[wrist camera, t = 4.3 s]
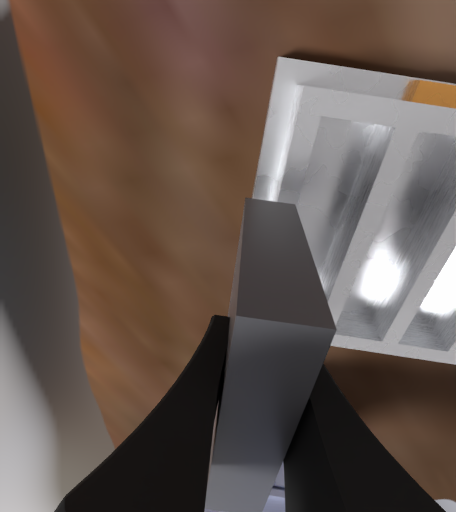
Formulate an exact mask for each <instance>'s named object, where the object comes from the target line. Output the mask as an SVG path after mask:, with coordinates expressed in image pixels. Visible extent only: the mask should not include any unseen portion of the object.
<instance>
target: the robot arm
mask: <svg viewBox="0 0 456 512" xmlns="http://www.w3.org/2000/svg"><path fill="white" fill-rule="evenodd" d="M229 323H230V317H226V316H219V315H214V316H212V318H211V321H210V324H209V327H208V329H207V331H206V333H205V335H204V337H203V339H202V341H201V343H200V345H199V346H198V348H197V350H196V351H195V353H194V355H193V356H192V358H191V360H190V361H189V363H188V364H187V366H186V367H185V369H184V370H183V372H182V373H181V374H180V376H179V377H178V379H177V380H176V382H175V383H174V384H173V386H172V387H171V388H170V390H169V391H168V392H167V393H166V395H165V396H164V397H163V398H162V400H161V401H160V402H159V403H158V404H157V406H156V407H155V408H154V409H153V410H152V411H151V413H150V414H149V415H148V416H147V417H146V418H145V419H144V421H143V422H142V423H141V424H140V425H139V426H138V427H137V428H136V429H135V430H134V431H133V432H132V433H131V434H130V435H129V436H128V437H127V438H126V439H125V440H124V441H123V442H122V443H121V444H120V445H119V446H118V447H117V448H116V450H115V451H114V452H113V453H112V454H111V455H110V456H109V457H108V458H106V459H105V460H104V461H103V462H102V463H101V464H100V465H99V466H98V467H97V468H96V469H94V470H93V471H92V472H91V473H90V474H89V475H88V476H87V477H86V478H84V479H83V480H82V481H81V482H80V483H79V484H78V485H77V486H76V487H74V488H73V489H72V490H71V491H70V492H69V493H68V494H67V495H66V496H65V497H64V498H63V500H62V501H61V503H60V504H59V506H58V507H57V509H56V510H55V511H54V512H223V511H216V510H210V509H205V502H206V492H207V483H208V473H209V464H210V455H211V445H212V436H213V427H214V420H215V416H216V411H217V406H218V401H219V395H220V389H221V382H222V376H223V370H224V364H225V357H226V351H227V344H228V334H229ZM263 512H446V511H445V510H444V509H443V508H441V506H439V504H437V503H436V502H435V501H434V500H433V499H432V498H431V497H430V496H429V495H428V494H427V493H426V492H425V491H424V490H423V489H422V488H421V487H420V486H419V484H418V483H417V482H416V481H415V480H414V479H413V478H412V477H411V476H410V475H409V474H408V473H407V472H406V471H405V469H404V468H403V467H402V466H401V465H400V464H399V463H398V462H397V461H396V460H395V459H394V457H393V456H392V455H391V454H390V453H389V452H388V451H387V450H386V449H385V447H384V446H383V445H382V444H381V443H380V442H379V440H378V439H377V438H376V437H375V436H374V434H373V433H372V432H371V431H370V429H369V428H368V427H367V426H366V424H365V423H364V422H363V421H362V419H361V418H360V417H359V415H358V414H357V413H356V411H355V410H354V409H353V407H352V406H351V405H350V403H349V402H348V400H347V399H346V397H345V396H344V395H343V393H342V392H341V390H340V389H339V387H338V386H337V384H336V383H335V381H334V380H333V378H332V377H331V375H330V373H329V372H328V370H327V369H326V367H325V365H324V364H323V365H322V367H321V370H320V372H319V374H318V377H317V379H316V382H315V384H314V387H313V389H312V392H311V394H310V397H309V399H308V401H307V404H306V406H305V409H304V411H303V414H302V416H301V419H300V421H299V423H298V426H297V428H296V431H295V433H294V436H293V438H292V441H291V443H290V445H289V448H288V450H287V453H286V455H285V458H284V460H283V463H282V465H281V467H280V470H279V472H278V475H277V477H276V480H275V482H274V485H273V487H272V490H271V492H270V494H269V497H268V499H267V502H266V504H265V507H264V509H263Z"/></svg>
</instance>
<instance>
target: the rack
mask: <svg viewBox="0 0 456 512" xmlns="http://www.w3.org/2000/svg"><path fill="white" fill-rule="evenodd" d="M252 199H260V200H267V201H274V202H282V203H289V204H295V205H296V208H297V211H298V214H299V217H300V220H301V223H302V226H303V229H304V232H305V235H306V238H307V241H308V244H309V247H310V250H311V253H312V257H313V260H314V263H315V266H316V269H317V272H318V275H319V278H320V281H321V284H322V287H323V290H324V293H325V296H326V299H327V302H328V305H329V308H330V311H331V314H332V317H333V320H334V323H335V326H336V329H337V330H336V333H335V335H334V338H333V340H332V343H331V345H330V346H337V347H343V348H350V349H356V350H363V351H369V352H376V353H383V354H389V355H396V356H402V357H409V358H415V359H422V360H429V361H435V362H442V363H448V364H455V365H456V84H453V83H447V82H440V81H434V80H427V79H421V78H414V77H408V76H401V75H395V74H388V73H382V72H375V71H369V70H362V69H356V68H349V67H343V66H336V65H330V64H323V63H317V62H310V61H304V60H297V59H291V58H284V57H278V58H277V61H276V66H275V72H274V77H273V83H272V88H271V94H270V99H269V105H268V111H267V116H266V122H265V127H264V133H263V138H262V144H261V149H260V155H259V161H258V166H257V172H256V177H255V183H254V188H253V194H252Z"/></svg>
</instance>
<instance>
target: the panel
mask: <svg viewBox="0 0 456 512" xmlns="http://www.w3.org/2000/svg"><path fill="white" fill-rule="evenodd" d="M228 317H230V323H229V334H228V344H227V351H226V357H225V364H224V370H223V376H222V382H221V389H220V395H219V401H218V406H217V411H216V416H215V420H214V428H213V436H212V445H211V455H210V464H209V473H208V483H207V492H206V502H205V509H210V510H216V511H223V512H263V509H264V507H265V504H266V502H267V499H268V497H269V494H270V492H271V490H272V487H273V485H274V482H275V480H276V477H277V475H278V472H279V470H280V467H281V465H282V463H283V460H284V458H285V455H286V453H287V450H288V448H289V445H290V443H291V441H292V438H293V436H294V433H295V431H296V428H297V426H298V423H299V421H300V419H301V416H302V414H303V411H304V409H305V406H306V404H307V401H308V399H309V397H310V394H311V392H312V389H313V387H314V384H315V382H316V379H317V377H318V374H319V372H320V370H321V367H322V365H323V362H324V360H325V357H326V355H327V352H328V350H329V348H330V345H331V343H332V340H333V338H334V335H335V333H336V330H337V329H336V326H335V323H334V320H333V317H332V314H331V311H330V308H329V305H328V302H327V299H326V296H325V293H324V290H323V287H322V284H321V281H320V278H319V275H318V272H317V269H316V266H315V263H314V260H313V257H312V253H311V250H310V247H309V244H308V241H307V238H306V235H305V232H304V229H303V226H302V223H301V220H300V217H299V214H298V211H297V208H296V205H295V204H289V203H282V202H274V201H267V200H260V199H252V198H245V205H244V212H243V218H242V225H241V232H240V238H239V245H238V252H237V259H236V265H235V272H234V279H233V285H232V292H231V299H230V306H229V312H228Z"/></svg>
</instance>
